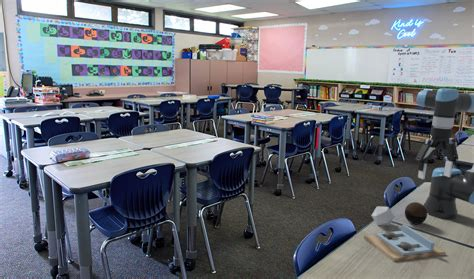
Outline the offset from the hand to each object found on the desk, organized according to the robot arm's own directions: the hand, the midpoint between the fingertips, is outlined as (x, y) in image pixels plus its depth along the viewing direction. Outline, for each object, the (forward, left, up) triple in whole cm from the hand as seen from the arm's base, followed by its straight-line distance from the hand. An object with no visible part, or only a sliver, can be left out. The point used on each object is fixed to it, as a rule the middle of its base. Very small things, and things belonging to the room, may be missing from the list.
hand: (434, 177), depth 150 cm
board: (+16, +6, -26) cm, 32 cm away
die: (+11, -13, -27) cm, 32 cm away
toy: (-5, -11, -27) cm, 29 cm away
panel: (+16, +6, -25) cm, 31 cm away
